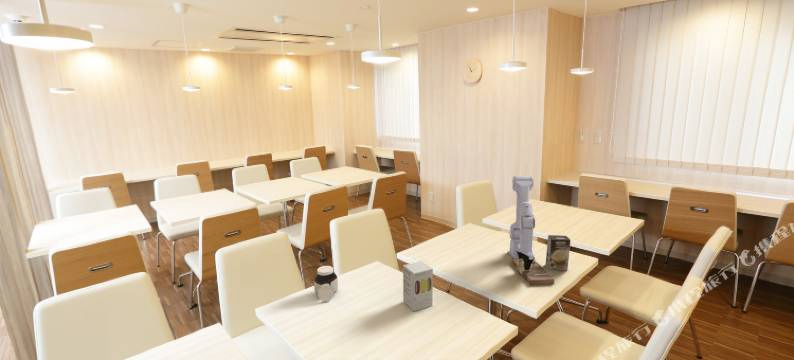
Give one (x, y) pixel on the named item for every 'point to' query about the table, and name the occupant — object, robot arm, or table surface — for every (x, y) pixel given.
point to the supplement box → (417, 285)
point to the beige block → (522, 265)
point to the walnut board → (535, 274)
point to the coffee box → (557, 252)
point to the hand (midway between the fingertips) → (524, 267)
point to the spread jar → (325, 283)
